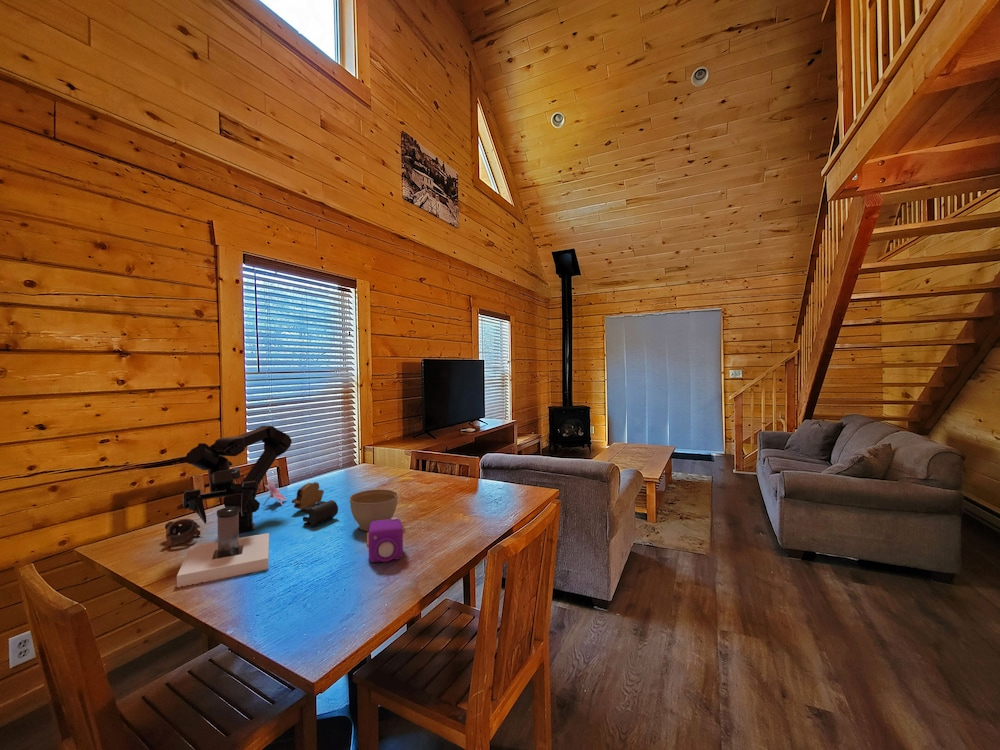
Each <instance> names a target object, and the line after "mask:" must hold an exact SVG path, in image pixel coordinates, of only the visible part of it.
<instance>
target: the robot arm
mask: <svg viewBox="0 0 1000 750" xmlns="http://www.w3.org/2000/svg"><path fill="white" fill-rule="evenodd" d="M292 440H293V439H292V437H290V435H289V434H286V432H283V431H281V430H279V429H277V427H275V426H272V425H261V426H259V427H258V428H255V429H252V430H250V431H247V432H245V433H242V434H240V435H239V434H238V435H236V436H229V437H228V436H226V437H219V438H217V439H216V440H215V441H214V443H213V444H210V445H208V444H207V443H203V442H200V443H198V444H197V446H195V447H193V448H191V449H190V451H188V452H187V453H186V456H185V462H186V463H187V464H189V465H191V466H193V467H195V468H197V469H199V470H200V471H201V470H202V471H207V475H208V476H207V477H208V478H207V479H208V486H209V491H207V492H201V489H200V488H197V489H192V490H191V489H190V490H185V491H184V492H183V494H182V509H184V510H188V511H193V512H195V513H196V514H197V516H199V518H200V520H202V522H203V524H207V515H206V511H205V507H204V500H211V499H219V498H223V501H222V502H223V506H224V508H226V507H239V533H243V532H249V531H254V530H255V525H256V524H255V522H254V519H253V518H254V514H253V513H256V512H257V511H258V510H259V509H260V505H261V503H260V502H259V501H258V500H257V499H256V497H257V494H258V490H259V484H260V483H261V481H263V479H264V477H265V475H266V474H267V472H268V471H269V469H270V468H271V467H272V465H273V463H274V462H275V461H276V459H277V458H278V457H279V456H281V455H283V454H285V453H286V452H287V450H288V449H289V448H290V447H291V445H292ZM259 442H262V444H263V451H262V453H261V455H260V456H259V458H258V459H257V460H256V462H255V463H254V464H253V466H252V467H251V469H250V471H249V472H248V473H247V474H246V475H245V477H244V478H243V480H242V481H241V482H240V483H235V482H234V480H235V479H239V478H240V476H241V471H240V467H239V466H237V467H232V468H231V469H230V467H231V466H233V462H232V461H230V460H229V459H228V457H237V456H238V455H240V454H242V453H243V452H245V450H246V448H247V447H249V446H251V445H254V444H256V443H259Z"/></svg>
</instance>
